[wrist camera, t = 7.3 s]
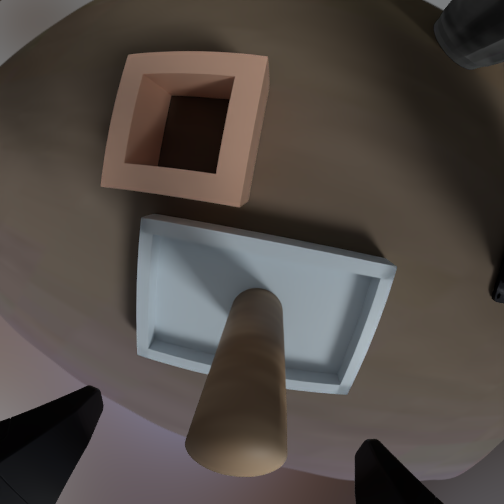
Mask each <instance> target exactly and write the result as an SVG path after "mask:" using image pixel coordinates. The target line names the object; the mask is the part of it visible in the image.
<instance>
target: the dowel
mask: <svg viewBox="0 0 504 504" xmlns="http://www.w3.org/2000/svg"><path fill="white" fill-rule="evenodd" d="M185 447H186V450H187V452H188V454H189V455H190V456H191V457H192V459H194V460H195V461H196V462H197V463H199V464H200V465H202V466H203V467H205V468H207V469H209V470H212V471H214V472H217V473H221V474H224V475H230V476H238V477H253V476H260V475H264V474H267V473H270V472H272V471H275V470H276V469H278V468H279V467H281V466H282V465H283V464H284V462H285V461H286V458H287V410H286V376H285V349H284V327H283V309H282V304H281V302H280V300H279V299H278V298H277V296H276V295H274V294H273V293H272V292H270V291H268V290H266V289H262V288H251V289H247V290H245V291H243V292H241V293H240V294H239V295H238V296H237V297H236V298H235V300H234V301H233V304H232V307H231V309H230V312H229V315H228V318H227V321H226V324H225V327H224V330H223V333H222V336H221V339H220V341H219V344H218V347H217V350H216V353H215V356H214V359H213V362H212V365H211V368H210V371H209V373H208V376H207V379H206V382H205V385H204V388H203V391H202V394H201V397H200V400H199V403H198V406H197V408H196V411H195V414H194V417H193V420H192V423H191V426H190V429H189V432H188V435H187V438H186V441H185Z"/></svg>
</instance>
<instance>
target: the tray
mask: <svg viewBox="0 0 504 504" xmlns="http://www.w3.org/2000/svg"><path fill="white" fill-rule="evenodd" d="M396 269H397V266H395V265H394V264H393V263H391V262H390V261H389V260H387V259H386V258H382V257H378V256H373V255H368V254H364V253H359V252H354V251H349V250H345V249H340V248H335V247H330V246H325V245H320V244H316V243H311V242H306V241H301V240H296V239H291V238H285V237H280V236H275V235H270V234H265V233H260V232H254V231H249V230H244V229H238V228H233V227H228V226H222V225H217V224H211V223H206V222H200V221H195V220H189V219H183V218H178V217H172V216H166V215H160V214H151V215H148V216H144V217H141V225H140V236H139V250H138V268H137V303H136V322H137V355H140V356H143V357H146V358H149V359H152V360H156V361H159V362H162V363H166V364H169V365H173V366H177V367H180V368H184V369H188V370H192V371H196V372H200V373H204V374H208V373H209V371H210V368H211V365H212V362H213V359H214V356H215V353H216V350H217V347H218V344H219V341H220V339H221V336H222V333H223V330H224V327H225V324H226V321H227V318H228V315H229V312H230V309H231V307H232V304H233V301H234V300H235V298H236V297H237V296H238V295H239V294H240V293H241V292H243V291H245V290H247V289H251V288H262V289H266V290H268V291H270V292H272V293H273V294H274V295H276V296H277V298H278V299H279V300H280V302H281V304H282V309H283V327H284V349H285V376H286V389H292V390H300V391H309V392H319V393H331V394H344V395H347V394H348V392H349V390H350V388H351V386H352V384H353V381H354V379H355V377H356V375H357V373H358V371H359V368H360V366H361V364H362V362H363V359H364V357H365V355H366V353H367V350H368V348H369V345H370V343H371V341H372V338H373V336H374V333H375V330H376V328H377V325H378V323H379V320H380V317H381V315H382V312H383V309H384V306H385V303H386V300H387V297H388V294H389V291H390V288H391V285H392V282H393V279H394V276H395V272H396Z"/></svg>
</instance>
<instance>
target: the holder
mask: <svg viewBox="0 0 504 504" xmlns="http://www.w3.org/2000/svg"><path fill="white" fill-rule="evenodd" d="M269 88H270V80H269V64H268V57H267V56H259V55H250V54H240V53H227V52H206V51H171V52H151V53H138V54H128V57H127V60H126V64H125V67H124V70H123V74H122V77H121V81H120V85H119V88H118V92H117V96H116V100H115V105H114V109H113V114H112V118H111V123H110V128H109V133H108V139H107V144H106V151H105V157H104V164H103V171H102V179H101V187H108V188H116V189H124V190H132V191H139V192H146V193H153V194H160V195H167V196H174V197H180V198H186V199H193V200H199V201H205V202H211V203H217V204H223V205H228V206H234V207H241V206H242V205H244V204H245V203H247V202H248V201H249V195H250V189H251V184H252V178H253V173H254V167H255V162H256V156H257V151H258V146H259V140H260V135H261V130H262V124H263V119H264V114H265V108H266V103H267V98H268V93H269ZM171 96H193V97H208V98H219V99H229V100H230V102H229V107H228V112H227V117H226V122H225V127H224V132H223V138H222V143H221V148H220V154H219V159H218V165H217V170H216V174H213V173H206V172H199V171H192V170H184V169H176V168H168V167H159V166H158V162H159V156H160V150H161V144H162V139H163V134H164V128H165V124H166V119H167V114H168V109H169V105H170V100H171Z"/></svg>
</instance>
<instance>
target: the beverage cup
mask: <svg viewBox="0 0 504 504" xmlns="http://www.w3.org/2000/svg"><path fill="white" fill-rule="evenodd" d="M434 33H435V36H436V39H437V41H438V43H439V44H440V46H441V48H442V49H443V50H444V52H445V53H446V54H447V55H448V56H449V57H450V58H451V59H452V60H453V61H454V62H455V63H457V64H458V65H460V66H461V67H464V68H466V69H476V68H480V67H484V66H490V65H494V64H498V63H501V62H504V0H452V1H451V2H450V3H449V4H448V6H447V7H446V8H445V9H444V11H443V12H442V14H441V16H440V18H439V19H438V20H437V21H436V22H435V24H434Z"/></svg>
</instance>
